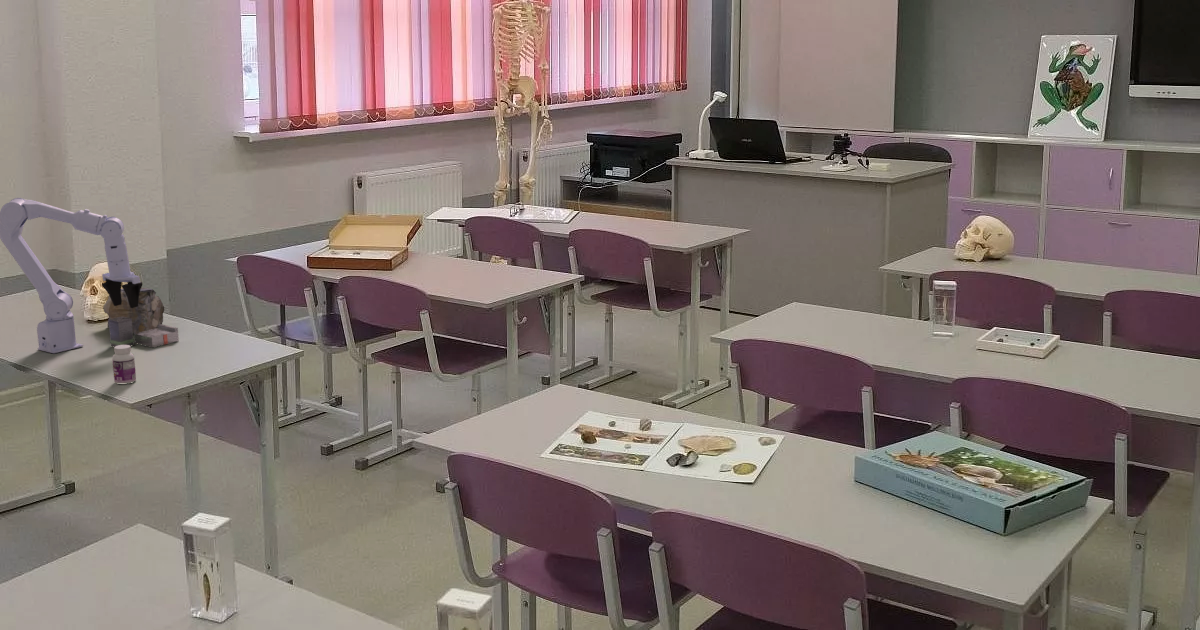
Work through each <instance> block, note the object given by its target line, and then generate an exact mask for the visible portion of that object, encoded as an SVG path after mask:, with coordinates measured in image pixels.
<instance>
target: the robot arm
mask: <svg viewBox="0 0 1200 630" xmlns="http://www.w3.org/2000/svg"><path fill="white" fill-rule="evenodd" d="M38 218H44V219H49V220H53V221H58V222H62V223H66V224H70V225H72V227H73V228H74V230H75V231H76V230H77V231H80V232H84V233H87V234H91V235H95V236H101V237H102V238H103V242H104V251H105V255H106V256H105V257H106V262H107V267H108V272H106V273H102V274H101V275H102V276H101V278H102V281H104V282H103V283H101V286H102V287H103V289H104V290H105V291H106V292H107V295H108V296H110V298H111V300H112V302H113V305H114V306H118V305H121V304H122V299H121V289H124V291H125V293H126V295H127V298H128V302H129V305H130V308H134V307H138V301H139V293H140V290H141V288H143V282H142V281H141V279H140V275H136V274H135V272H134V271H131V265H130V260H129V254H128V250H127V249H128V248H127V243H126V240H125V235H124V234H123V233H124V231H125V224H124V222H123V220H121V219H120V218H119V217H116V216H108V215H107V214H103V215H101V214H98V213H94V212H91V210H90V209H88V208H85V209H84V210H83V209H80V210H77V211H76V212H74V211H70V210H66V209H64V208H60V207H57V206H54V205H50V204H48V203H47V204H46V203H43V202H41V201H37V200H34V199H25V198H24V197H23V198H22V197H15V198H13V199H11V200H10V201H9V202H6V203H5V204H4V205H3V206H2V207H1V208H0V240H1V242H2V244H3V245H4V247H5V248H6V249H7V251H8V253H9V254H10V255H11V257H12V258H13V259H14V260H15V262H16V264H18V266H19V268H20V269H21V270H22V272H23V273H24V275H25V276H26V277H27V279H28V281H30V283H31V284H32V286H33V287H34V289H35V290H36V292H37V293H38V298H39V301H40V303H42V306H43V312H44V314H45V320H43V321H40V322H39V323H37V327H36V331H37V332H36V333H37V342H38V347H37V350H38V351H41V352H42V351H43V352H46V353H49V354H50V353H51V354H57V353H61V352H62V353H63V352H65V351H70V350H73V349H78V348H83V346H84V344H83V343H77V335H76V330H75V329H76V325H75V318H74V314H73V312H72V311H71V309H72V308H73V306H74V300H73V297H72V296H71V295H70V294H69V293H68V292H66V291H64V290H63V288H61V286H60V285H59V284H57V283H56V282H55V281H54V280H53V278H52V277H51V275H49V272H48V271H47V270H46V268H45V267H44V265H43V264H42V263H41V261H40V260H39V258H38V257H37V256H36V254H35V253H34V251H33V249H31V248H30V246H29V244H28V243H27V242H26V239H24V237H23V236H22V233H23V230H24V227H25V223H26V221H29V220H30V221H31V220H34V219H38ZM122 283H124V284H122Z"/></svg>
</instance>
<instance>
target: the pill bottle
mask: <svg viewBox="0 0 1200 630" xmlns="http://www.w3.org/2000/svg"><path fill="white" fill-rule="evenodd" d="M131 347H132V346H130V345H118V346H115V347H113V350H114V351H113V352H114V354H113V355H112V357H111V360H112V361H111V362H112V371H113V380H114V384H116V383H131V382H134V381H135V382H136V381H137V374H136V373H137V372H136V362H135V355H134V354H133V353H132V348H131ZM135 382H134V383H135Z"/></svg>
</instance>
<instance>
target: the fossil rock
mask: <svg viewBox="0 0 1200 630" xmlns="http://www.w3.org/2000/svg"><path fill="white" fill-rule="evenodd" d="M156 294H157V292H156V291H155V290H154V289H152V288H148V287H141V290H140V293H139V301H138V307H134V308H130V305H129V302H128V298H127V295H126V293H125V291H124V289H123V288H121V299H122V304H121V305H118V306H114V305H113V302H112V300H111V298H110V296H109V295H107V297H108V298H107V300H106V301H105V303H104V305H103V306H102V309H103V312H104V314H106V315H107V316H108V319H113V318H117V317H121V316H123V317H127V318H132V330H133V335H134V334H135V333H139V332H143V331H147V330H152V329H156V328H158V326H157V325H158V324H162V325H163V322H164V315H163V314H164V312H165V306H164V304H163V302H162V300H161V298H160V297H159V296H158V295H156ZM108 327H109V322H108V321H107V328H108Z"/></svg>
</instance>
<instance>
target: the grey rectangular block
mask: <svg viewBox="0 0 1200 630" xmlns="http://www.w3.org/2000/svg"><path fill="white" fill-rule="evenodd" d="M108 322H109V338H110V340H109V343H110V347H111V346H114V347H115V346H118V345H130V346H131V345H133V346H135V338H134V333H133V330H132V318H127V317H123V316H121V317H117V318H113V319H109V318H108V319H107V323H108ZM114 347H113V348H114ZM131 347H132V346H131Z"/></svg>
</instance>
